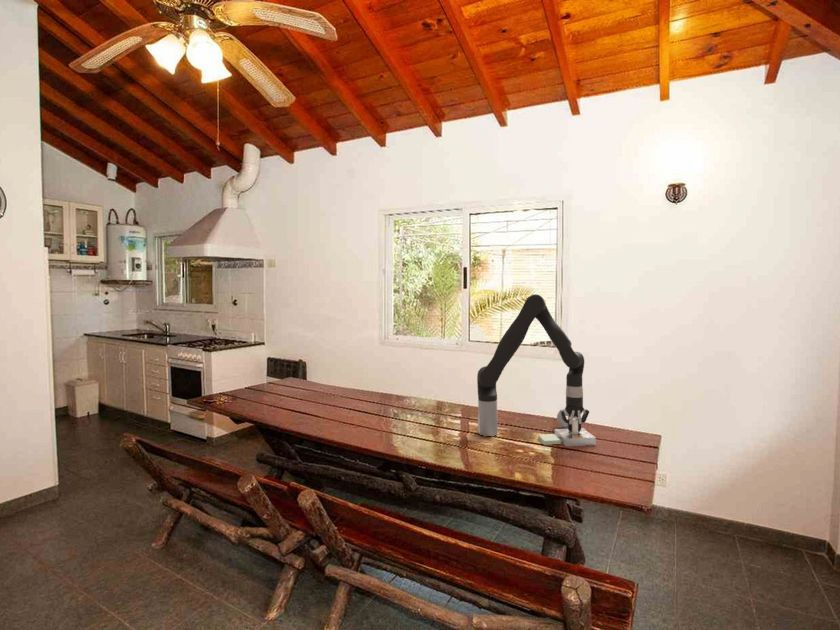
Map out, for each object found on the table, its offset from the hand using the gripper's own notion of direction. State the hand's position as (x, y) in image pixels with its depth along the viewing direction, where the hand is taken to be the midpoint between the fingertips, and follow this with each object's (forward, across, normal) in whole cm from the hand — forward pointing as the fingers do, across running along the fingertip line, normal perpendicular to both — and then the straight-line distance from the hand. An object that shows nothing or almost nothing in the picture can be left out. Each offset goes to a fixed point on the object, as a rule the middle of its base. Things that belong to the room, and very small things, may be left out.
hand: (574, 431), depth 212 cm
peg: (+2, 0, 0) cm, 2 cm away
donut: (+5, +3, +18) cm, 19 cm away
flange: (+4, 0, 0) cm, 4 cm away
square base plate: (+4, -12, 0) cm, 13 cm away
